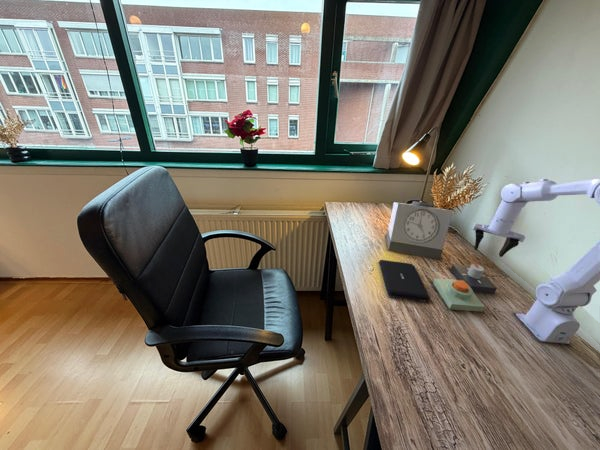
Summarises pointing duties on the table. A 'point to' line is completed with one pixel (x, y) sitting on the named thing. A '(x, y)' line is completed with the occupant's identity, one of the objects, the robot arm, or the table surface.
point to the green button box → (457, 296)
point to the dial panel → (473, 279)
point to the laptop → (403, 280)
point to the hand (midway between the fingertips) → (487, 252)
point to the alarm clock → (418, 229)
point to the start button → (461, 286)
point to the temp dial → (475, 271)
